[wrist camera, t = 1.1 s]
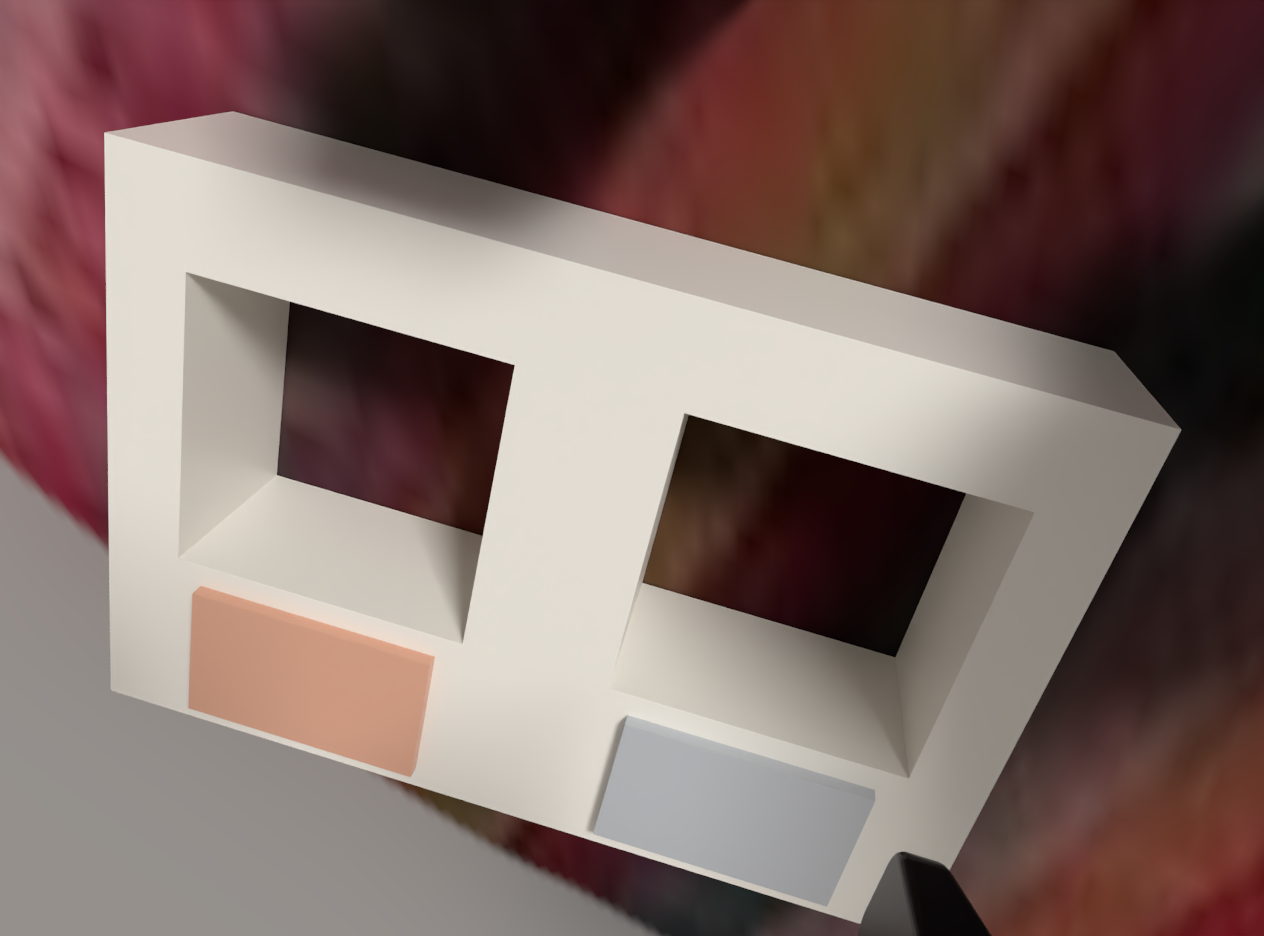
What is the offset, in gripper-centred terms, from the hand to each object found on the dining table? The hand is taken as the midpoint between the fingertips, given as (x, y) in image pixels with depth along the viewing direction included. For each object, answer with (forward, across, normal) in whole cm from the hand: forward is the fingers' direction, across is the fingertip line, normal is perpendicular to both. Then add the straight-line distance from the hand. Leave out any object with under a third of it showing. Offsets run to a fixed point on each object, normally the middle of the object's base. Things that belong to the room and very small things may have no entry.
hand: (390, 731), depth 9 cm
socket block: (+13, 0, +4) cm, 14 cm away
